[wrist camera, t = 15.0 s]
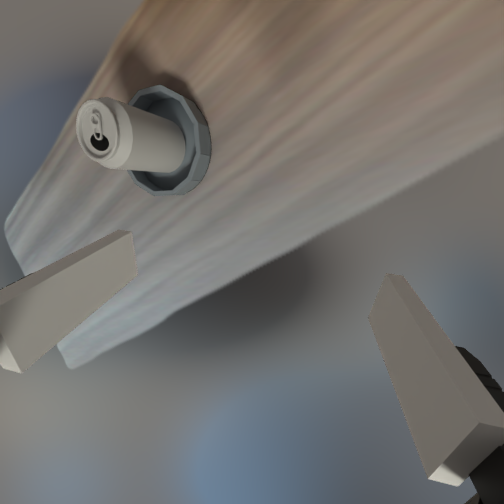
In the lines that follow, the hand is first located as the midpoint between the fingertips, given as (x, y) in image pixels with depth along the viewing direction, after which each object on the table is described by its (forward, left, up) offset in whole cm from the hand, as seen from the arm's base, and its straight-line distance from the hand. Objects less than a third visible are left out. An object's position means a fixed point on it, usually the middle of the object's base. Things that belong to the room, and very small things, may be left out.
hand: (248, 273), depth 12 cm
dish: (+13, -20, -22) cm, 33 cm away
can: (+13, -20, -21) cm, 32 cm away
